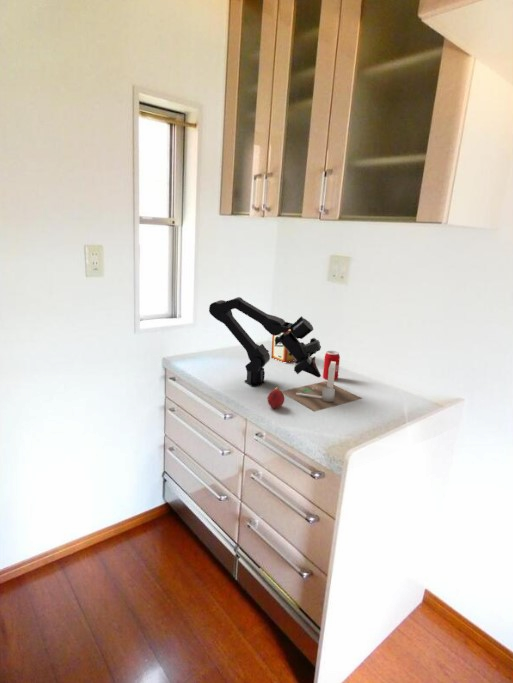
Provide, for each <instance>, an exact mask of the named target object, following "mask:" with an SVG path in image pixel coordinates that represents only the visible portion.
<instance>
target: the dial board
mask: <svg viewBox="0 0 513 683" xmlns="http://www.w3.org/2000/svg"><path fill="white" fill-rule="evenodd" d="M327 383H328V380H326V381H321V382H316V383H312V384H307V385H303V386H299V387H295V388H294V387H293V388H289V389H286V390H285V389H284V390H280V391H281V392H282V394H283V395H286V396H287V397H288V398H290V399H292V400H294V401H295V402H297V403H299V404H301V405H302V406H304V407H305V408H307V409H309V410H311V411H312V412H317V411H318V412H319V411H321V410H324V409H329V408H332V407H336V406H340V405H343V404H347V403H348V404H349V403H351V402H354V401H358V400H362V399H363V397H360V396H358V395H356V394H354V393H352V392H350V391H348V390H345V389H343V388H342V387H339V386H338V385H336V384H334V386H333V388H334V389H335V394H334V401H332V402H326V401H323V400H322V398H317V397H310V396H303V395H296V393H302V394H309V395H316V396H322V392H323V388H324V387H327Z"/></svg>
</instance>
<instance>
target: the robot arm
mask: <svg viewBox="0 0 513 683" xmlns="http://www.w3.org/2000/svg"><path fill="white" fill-rule="evenodd" d="M234 309H236V310H237V311H239V312H241V313H242V314H244V315H246V316H247V317H249V318H250V319H253V320H254V321H255V322H257V323H259V324H260V325H261V326H262V327H263V328H264V329H265V331H267V332H268V333H269V334H270V335H272V336H273V335H274V336H276V335H279V334H281V333H283V334H282V335H281V336H280V337H278V336H277V337H276V338H275V340H276V341H275V345H277V344H278V343H279V342H281V343H282V345H283V346H284V347H285V348H286V349H287V350H288V352H289V355H290V356H291V355H292V356H293V357H294V359H295V365H294V368H293V371H294V373H296V374H297V375H299V374H300V373H302V372H306V373H308V374H310V375H312V376H315V377H316V378H320V377H322V375H321V372H320V371H319V369H318V367H317V364H316V356H313V355H314V354H316V353H317V352H320V350H321V349H322V346H321V344H320V343H321V342H320V341H319V339H317V338H315V337H312V338H310V341H309V342H307V343H304V342H300V340H302V339H304V338H306V337H307V336H308V335H309V334H310V333H311V332H313V331H314V327H313V325H312V323H311V322H310V321H308V320H307V318H304V317H303V316H302V315H301V316H300V317H299V318H298V319H297V320H296V321H295V322H293V323H291V322H288V321H285V319H284V318H281V317H278V316H276V315H272V314H269V313H266V312H265V311H263V310H262V309H260V308H258V307H256V306H254V305H253V304H252V303H250V302H248V301H246V300H244V298H242V297H240V296H239V297H235V298H232V299H229V300H224V299H222V300H221V299H220V300H216V301H214V302H212V303H210V304H209V308H208V312H209V314H210V315H211V316H212V317H213V318H215V320H217V321H219V322H220V323H222V324H224V326H225V327H226V328H227V330H229V332H230V333H231V335H232V336H233V337H234V338H235V339H236V340H237V342H239V344H240V345H241V346H242V348H244V350H245V351H246V353H247V357H248V360H249V362H248V363H247V364H246V365H245V369H246V379H245V380H244V383H246V384H248V385H249V386H252V387H257V386H261V385H263V384H266V382H265V375H266V374H265V368H264V367H265V366H266V364H268V363H269V362H270V358H271V354H270V353H269V352H270V350H268V349H267V348H266V347H265V345H264V344H263V343H262V344H258V343H256V342H255V341H254V340H253V339H252V338H251V336H250V335H249V334H248V333H247V331H246V329H244V328H243V327H242V325H241V324H240V323H239V322H238V320H237V319H236V318H235V317H234V315H233V312H232V310H234ZM289 329H290V330H291V331H290V332H289V333H286V332H287V331H288V330H289ZM312 356H313V357H312Z"/></svg>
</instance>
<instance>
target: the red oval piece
mask: <svg viewBox="0 0 513 683" xmlns="http://www.w3.org/2000/svg"><path fill="white" fill-rule="evenodd" d="M281 391H282V390H280V389H279V387H278V386H277V387H275V388H274V389H273V390H271V391H270V392H269V394H268V396H267V403H268V405H269V406H270V407H271V408H272V409H279V408H280V407H282V406H283V405H284V402H285V396H284V395H285V394H283V393H282V392H281Z"/></svg>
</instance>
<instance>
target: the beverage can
mask: <svg viewBox="0 0 513 683" xmlns="http://www.w3.org/2000/svg"><path fill="white" fill-rule="evenodd" d="M340 359H341V357H340V353H339V351H336V350H328V351H326V353H325V354H324V360H323V361H324V362H323V371H322V378H323V379H324V380H326V381H328V373H329V366H330V363H331V361H333V362H336V366H335V376H334V382H335V381H337V380H338V378H339V370H340Z"/></svg>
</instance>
